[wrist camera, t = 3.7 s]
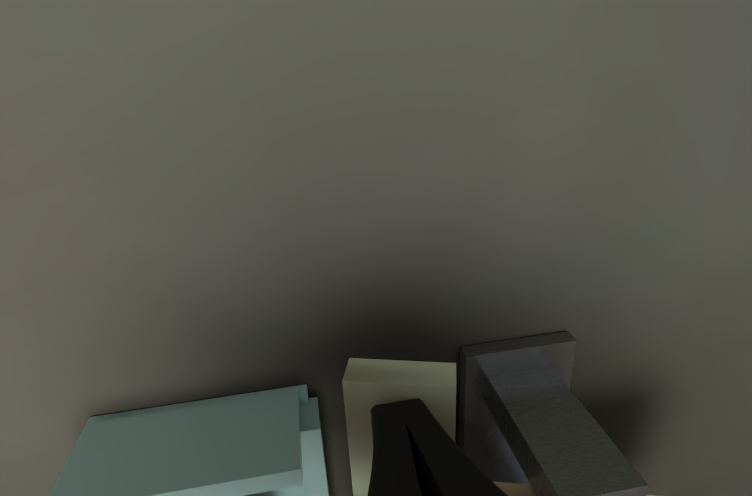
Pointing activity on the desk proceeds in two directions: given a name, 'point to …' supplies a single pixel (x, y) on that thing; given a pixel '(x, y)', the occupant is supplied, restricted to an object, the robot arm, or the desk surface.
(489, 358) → the stand
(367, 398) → the beige tray
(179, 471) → the dish
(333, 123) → the desk surface
